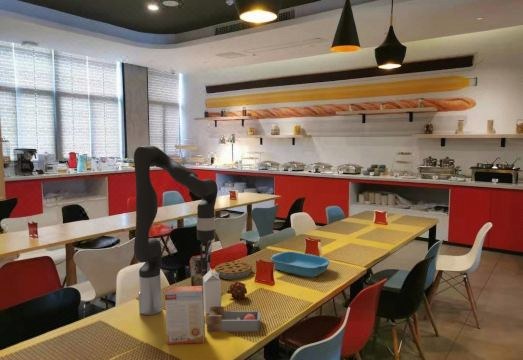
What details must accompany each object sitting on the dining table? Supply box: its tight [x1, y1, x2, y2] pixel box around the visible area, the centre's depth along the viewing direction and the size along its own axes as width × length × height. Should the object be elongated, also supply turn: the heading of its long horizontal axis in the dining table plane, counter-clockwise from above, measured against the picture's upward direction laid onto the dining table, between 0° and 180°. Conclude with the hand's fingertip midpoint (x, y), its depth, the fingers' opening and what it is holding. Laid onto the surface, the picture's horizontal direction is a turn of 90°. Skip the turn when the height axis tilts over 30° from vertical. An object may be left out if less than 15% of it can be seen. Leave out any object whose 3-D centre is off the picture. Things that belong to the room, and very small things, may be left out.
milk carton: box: [203, 267, 222, 315], centre depth 179 cm, size 7×7×19 cm
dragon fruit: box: [226, 280, 248, 300], centre depth 194 cm, size 8×8×12 cm
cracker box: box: [164, 285, 206, 345], centre depth 153 cm, size 14×6×21 cm, turn 92°
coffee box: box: [189, 255, 211, 286], centre depth 207 cm, size 9×6×16 cm
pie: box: [214, 260, 253, 280], centre depth 229 cm, size 22×22×5 cm
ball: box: [244, 314, 256, 320], centre depth 164 cm, size 5×5×5 cm
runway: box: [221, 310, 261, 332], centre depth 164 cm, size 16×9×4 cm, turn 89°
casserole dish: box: [270, 251, 330, 278], centre depth 233 cm, size 37×22×7 cm, turn 52°
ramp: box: [206, 305, 226, 332], centre depth 165 cm, size 7×9×6 cm
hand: (206, 265), depth 165 cm, fingers open, 8 cm apart
